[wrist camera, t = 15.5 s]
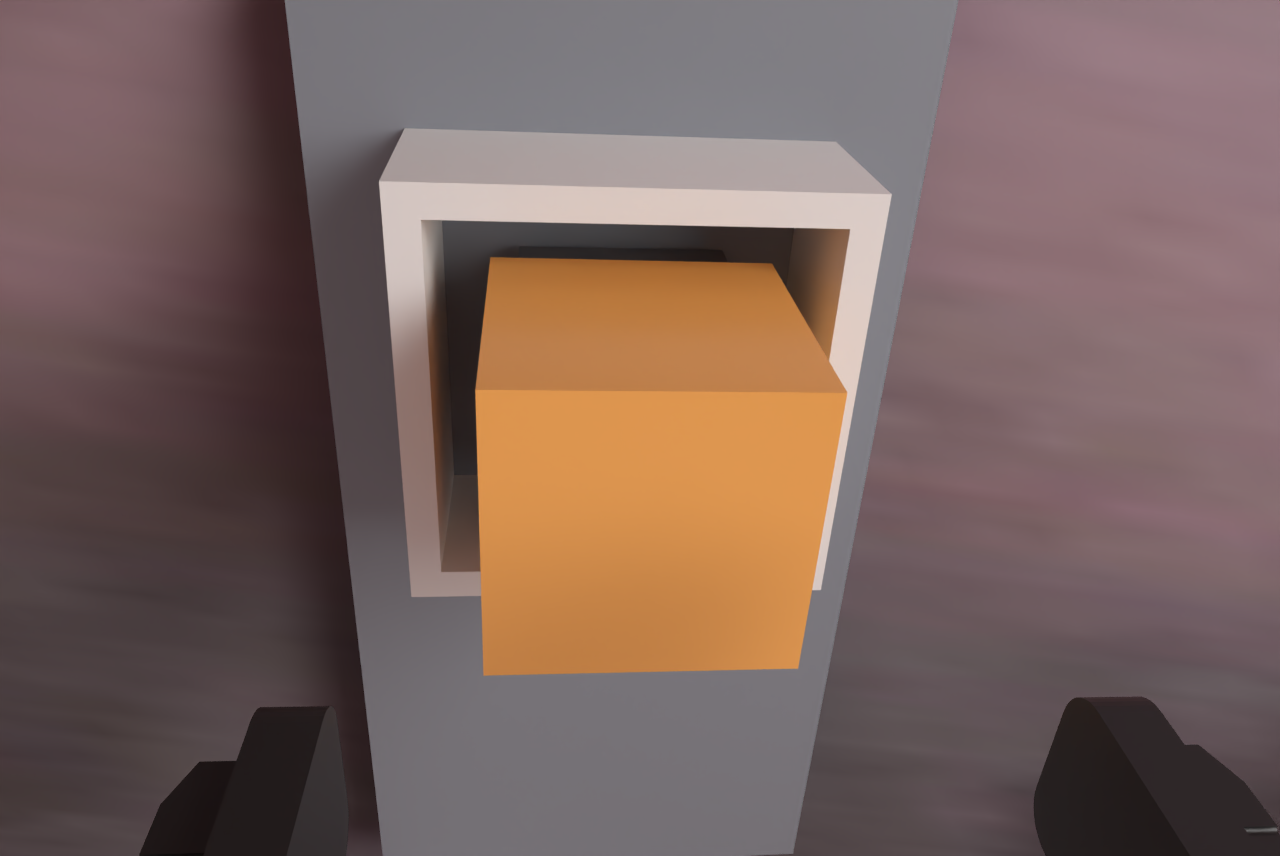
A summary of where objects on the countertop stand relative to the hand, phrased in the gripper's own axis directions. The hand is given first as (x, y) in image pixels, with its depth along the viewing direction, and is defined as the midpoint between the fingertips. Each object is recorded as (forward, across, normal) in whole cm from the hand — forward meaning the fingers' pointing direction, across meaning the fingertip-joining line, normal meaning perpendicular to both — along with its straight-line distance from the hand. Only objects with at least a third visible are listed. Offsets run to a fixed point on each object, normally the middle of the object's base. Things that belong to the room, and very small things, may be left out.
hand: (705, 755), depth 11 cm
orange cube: (+9, 0, 0) cm, 9 cm away
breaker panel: (+14, 0, +5) cm, 14 cm away
